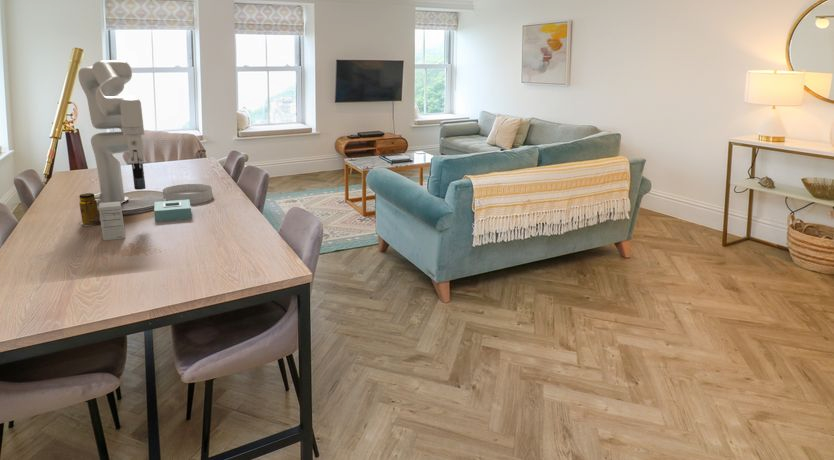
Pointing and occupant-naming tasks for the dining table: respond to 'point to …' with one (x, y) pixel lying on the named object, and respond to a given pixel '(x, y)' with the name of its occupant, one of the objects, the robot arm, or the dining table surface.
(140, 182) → the bolt
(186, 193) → the dish
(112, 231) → the supplement box
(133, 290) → the dining table surface
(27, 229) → the dining table surface
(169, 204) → the dock
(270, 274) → the dining table surface
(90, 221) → the condiment
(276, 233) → the dining table surface
